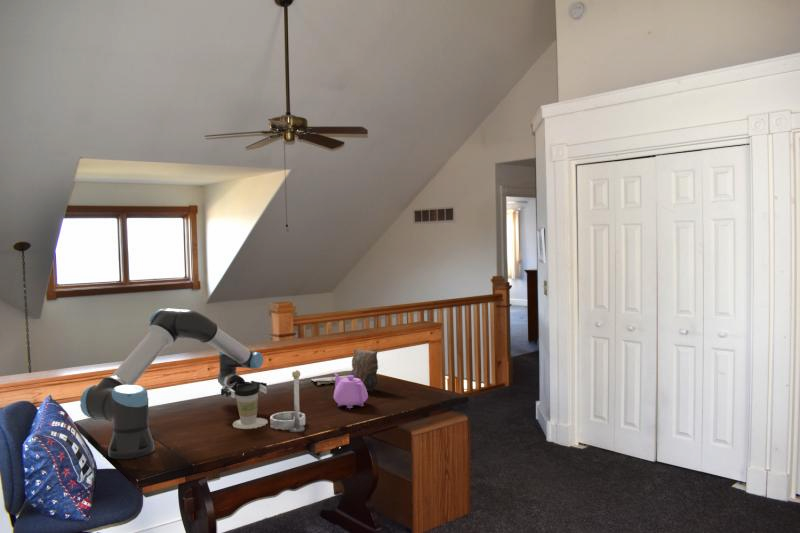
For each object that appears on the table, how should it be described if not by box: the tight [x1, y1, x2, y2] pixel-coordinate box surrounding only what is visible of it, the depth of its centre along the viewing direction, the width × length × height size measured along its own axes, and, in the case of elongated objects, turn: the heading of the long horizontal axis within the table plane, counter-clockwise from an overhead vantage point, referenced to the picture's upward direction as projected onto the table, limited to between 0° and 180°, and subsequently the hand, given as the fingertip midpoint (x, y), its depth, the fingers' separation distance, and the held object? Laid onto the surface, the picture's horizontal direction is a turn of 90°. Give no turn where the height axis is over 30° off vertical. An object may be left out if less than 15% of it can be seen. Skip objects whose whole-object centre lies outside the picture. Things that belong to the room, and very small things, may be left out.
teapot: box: [333, 372, 369, 410], centre depth 282 cm, size 22×16×14 cm
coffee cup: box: [234, 382, 260, 425], centre depth 252 cm, size 10×10×15 cm
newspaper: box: [310, 374, 349, 386], centre depth 332 cm, size 35×12×4 cm, turn 118°
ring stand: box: [269, 369, 306, 434], centre depth 249 cm, size 19×14×24 cm
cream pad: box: [232, 417, 269, 430], centre depth 254 cm, size 14×14×1 cm
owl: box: [350, 349, 379, 392], centre depth 311 cm, size 13×13×20 cm
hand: (250, 392), depth 261 cm, fingers open, 13 cm apart
